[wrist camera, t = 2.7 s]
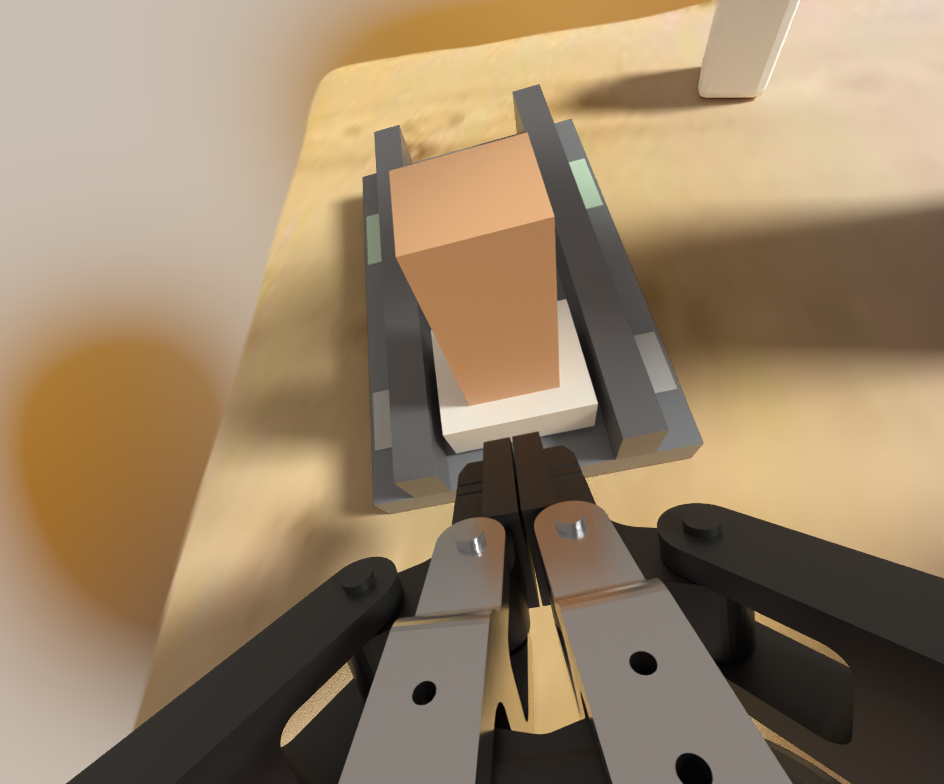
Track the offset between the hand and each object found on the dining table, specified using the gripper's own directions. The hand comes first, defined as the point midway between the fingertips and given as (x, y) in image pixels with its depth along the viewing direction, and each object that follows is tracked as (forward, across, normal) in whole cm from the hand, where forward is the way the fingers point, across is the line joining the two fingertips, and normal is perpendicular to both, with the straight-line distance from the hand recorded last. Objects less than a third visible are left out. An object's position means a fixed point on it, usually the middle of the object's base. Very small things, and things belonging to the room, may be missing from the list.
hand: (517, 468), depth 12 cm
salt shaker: (+24, -18, -12) cm, 33 cm away
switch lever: (+8, 0, 0) cm, 8 cm away
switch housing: (+15, 0, -3) cm, 15 cm away
